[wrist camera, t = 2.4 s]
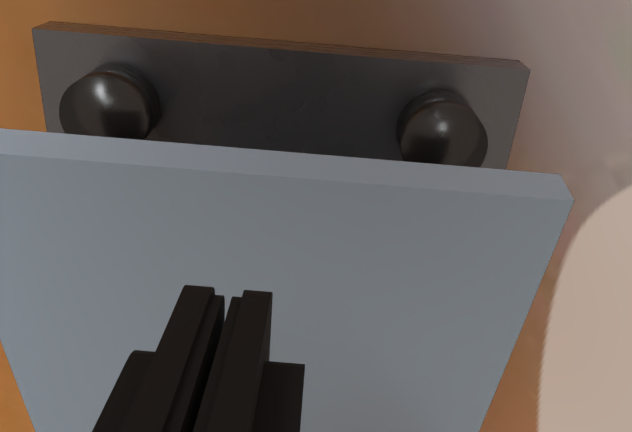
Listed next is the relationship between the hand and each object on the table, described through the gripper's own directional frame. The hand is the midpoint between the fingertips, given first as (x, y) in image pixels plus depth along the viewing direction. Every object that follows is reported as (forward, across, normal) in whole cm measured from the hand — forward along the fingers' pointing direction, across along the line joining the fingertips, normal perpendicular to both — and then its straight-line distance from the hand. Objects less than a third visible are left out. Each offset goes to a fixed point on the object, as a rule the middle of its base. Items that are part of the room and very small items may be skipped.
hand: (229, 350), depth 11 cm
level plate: (+7, 0, +7) cm, 10 cm away
